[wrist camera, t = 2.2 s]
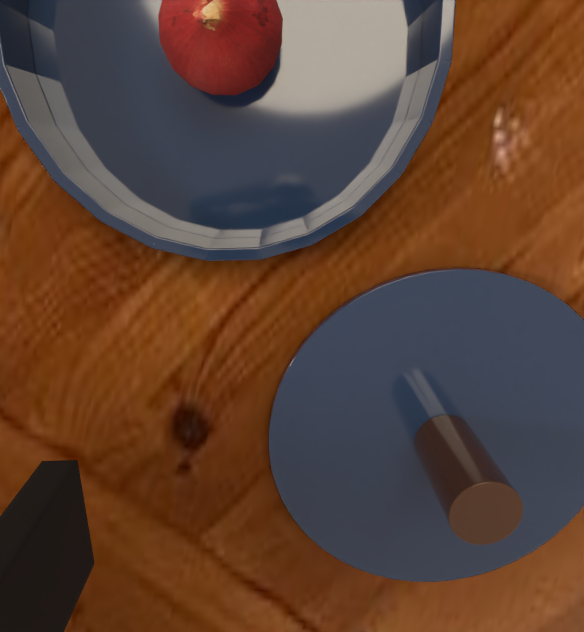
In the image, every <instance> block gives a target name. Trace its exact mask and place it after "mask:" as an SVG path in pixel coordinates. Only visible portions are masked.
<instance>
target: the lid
mask: <svg viewBox="0 0 584 632" xmlns="http://www.w3.org/2000/svg"><path fill="white" fill-rule="evenodd" d="M268 446H269V455H270V465H271V469H272V473H273V477H274V481H275V484H276V487H277V489H278V491H279V494H280V496H281V498H282V501H283V503H284V505H285V506H286V508H287V509H288V511H289V513H290V514H291V516H292V518H293V519H294V520H295V522H296V523H297V524H298V525H299V526H300V528H301V529H302V530H303V531H304V532H305V534H306V535H307V536H309V537H310V538H311V539H312V540H313V541H314V542H315V543H316V544H317V545H318V546H320V547H321V548H322V549H324V550H325V551H327V552H328V553H329V554H331V555H332V556H334V557H335V558H337V559H339V560H341V561H343V562H345V563H346V564H348V565H350V566H352V567H354V568H357V569H360V570H362V571H365V572H368V573H370V574H374V575H378V576H382V577H386V578H390V579H396V580H404V581H412V582H437V581H449V580H456V579H462V578H467V577H472V576H476V575H479V574H483V573H486V572H489V571H492V570H495V569H498V568H500V567H503V566H505V565H507V564H510V563H512V562H514V561H516V560H518V559H520V558H522V557H523V556H525V555H527V554H529V553H531V552H533V551H534V550H535V549H537V548H538V547H540V546H541V545H543V544H544V543H546V542H547V541H548V540H550V539H551V538H552V537H553V536H555V535H556V534H557V533H558V532H559V531H560V530H562V529H563V528H564V527H565V526H566V525H567V524H568V523H569V522H570V521H571V520H572V519H573V518H574V517H575V515H576V514H577V513H578V512H579V511H580V510H581V509H582V507H583V506H584V320H583V319H582V318H581V317H580V316H579V315H578V314H577V313H576V312H575V311H574V310H573V309H572V308H571V307H570V306H569V305H568V304H566V303H565V302H563V301H562V300H560V299H559V298H557V297H556V296H555V295H553V294H552V293H550V292H549V291H547V290H545V289H543V288H541V287H539V286H537V285H534V284H532V283H530V282H528V281H526V280H524V279H521V278H518V277H515V276H512V275H508V274H505V273H502V272H496V271H491V270H485V269H480V268H458V267H453V268H441V269H429V270H425V271H420V272H416V273H411V274H406V275H403V276H400V277H397V278H394V279H391V280H389V281H386V282H383V283H380V284H378V285H376V286H374V287H372V288H370V289H368V290H366V291H364V292H362V293H360V294H358V295H357V296H355V297H354V298H352V299H351V300H349V301H348V302H346V303H345V304H343V305H342V306H340V307H339V308H337V309H336V310H335V311H334V312H333V313H331V314H330V315H329V316H328V317H327V318H326V319H324V320H323V321H322V322H321V323H320V324H319V325H318V326H317V327H316V328H315V329H314V330H313V331H312V333H311V334H310V335H309V336H308V337H307V338H306V339H305V340H304V341H303V343H302V344H301V346H300V347H299V349H298V350H297V352H296V353H295V355H294V356H293V357H292V359H291V360H290V362H289V364H288V366H287V368H286V370H285V372H284V374H283V376H282V378H281V380H280V383H279V386H278V389H277V392H276V395H275V397H274V400H273V405H272V410H271V416H270V421H269V444H268Z"/></svg>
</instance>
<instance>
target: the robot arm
mask: <svg viewBox="0 0 584 632" xmlns="http://www.w3.org/2000/svg"><path fill="white" fill-rule="evenodd" d="M93 565H94V558H93V552H92V545H91V539H90V533H89V527H88V521H87V515H86V509H85V503H84V497H83V491H82V485H81V479H80V473H79V467H78V461H77V460H65V461H42V462H41V463H40V465H39V466H38V467H37V469H36V470H35V471H34V473H33V474H32V475H31V477H30V478H29V479H28V481H27V482H26V483H25V485H24V486H23V487H22V489H21V490H20V491H19V492H18V494H17V495H16V496H15V498H14V499H13V500H12V502H11V503H10V504H9V506H8V507H7V508H6V510H5V511H4V512H3V514H2V515H1V516H0V632H64V630H65V628H66V626H67V623H68V621H69V619H70V617H71V614H72V612H73V610H74V608H75V605H76V603H77V601H78V599H79V596H80V594H81V592H82V590H83V587H84V585H85V583H86V581H87V578H88V576H89V574H90V572H91V569H92V567H93Z"/></svg>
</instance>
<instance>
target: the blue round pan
mask: <svg viewBox="0 0 584 632" xmlns="http://www.w3.org/2000/svg"><path fill="white" fill-rule="evenodd" d="M161 2H162V0H0V89H1V91H2V93H3V96H4V98H5V101H6V103H7V105H8V108H9V110H10V113H11V115H12V117H13V120H14V122H15V125H16V127H17V128H18V131H19V132H20V134H21V135H22V137H23V138H24V139H25V141H26V142H27V144H28V145H29V146H30V148H31V149H32V151H33V152H34V153H35V155H36V156H37V158H38V159H39V160H40V162H41V163H42V165H43V166H44V167H45V169H46V170H47V171H48V173H49V174H50V176H51V177H52V178H53V180H54V181H55V182H56V183H57V184H58V185H59V186H60V187H62V188H63V189H64V190H65V191H66V192H67V193H68V194H70V195H71V196H72V197H73V198H74V199H75V200H76V201H78V202H79V203H80V204H81V205H82V206H83V207H84V208H86V209H87V210H88V211H89V212H90V213H91V214H92V215H94V216H95V217H96V218H97V219H98V220H99V221H101V222H103V223H105V224H106V225H108V226H110V227H112V228H114V229H116V230H118V231H120V232H122V233H124V234H126V235H128V236H129V237H131V238H133V239H135V240H137V241H139V242H141V243H143V244H145V245H147V246H149V247H151V248H152V247H153V248H154V249H158V250H162V251H166V252H170V253H174V254H179V255H183V256H187V257H191V258H195V259H200V260H204V261H206V260H207V261H234V260H260V259H266V258H269V257H273V256H276V255H280V254H283V253H287V252H290V251H294V250H297V249H301V248H304V247H307V246H311V245H313V244H315V243H317V242H319V241H320V240H322V239H324V238H325V237H327V236H329V235H330V234H332V233H334V232H336V231H337V230H339V229H341V228H342V227H344V226H346V225H347V224H349V223H351V222H352V221H354V220H356V219H357V218H359V217H360V216H362V215H363V214H364V213H365V212H366V211H367V210H368V209H369V208H370V207H371V206H372V205H373V204H374V203H375V202H376V201H377V200H378V199H379V198H380V197H381V196H382V195H383V194H384V193H385V192H386V191H387V190H388V189H389V188H390V187H391V186H392V185H393V184H394V182H395V181H396V180H397V179H398V178H399V177H400V176H401V175H402V174H403V172H404V170H405V169H406V167H407V165H408V164H409V162H410V160H411V159H412V157H413V155H414V154H415V152H416V150H417V149H418V147H419V145H420V143H421V142H422V140H423V138H424V137H425V135H426V133H427V132H428V130H429V128H430V127H431V125H432V122H433V121H434V117H435V114H436V111H437V108H438V104H439V101H440V98H441V95H442V91H443V88H444V85H445V82H446V79H447V75H448V72H449V69H450V66H451V60H452V51H453V36H454V21H455V6H456V0H277V3H278V6H279V9H280V12H281V15H282V18H283V26H282V45H281V48H280V51H279V54H278V57H277V59H276V62H275V65H274V67H273V69H272V70H271V71H270V72H269V73H268V75H267V76H266V77H265V78H264V79H263V80H262V82H261V83H260V84H259V85H258V86H256V87H254V88H251V89H249V90H247V91H245V92H242V93H240V94H238V95H212V94H209V93H207V92H204V91H202V90H200V89H197V88H195V87H192V86H190V85H189V84H188V83H187V82H186V81H185V80H184V79H183V78H182V77H181V76H180V75H178V74H177V73H176V72H175V71H174V70H173V69H172V67H171V65H170V62H169V60H168V58H167V56H166V54H165V52H164V50H163V48H162V46H161V44H160V37H159V22H158V15H159V11H160V6H161Z"/></svg>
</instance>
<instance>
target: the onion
mask: <svg viewBox="0 0 584 632" xmlns="http://www.w3.org/2000/svg"><path fill="white" fill-rule="evenodd" d="M158 22H159V37H160V44H161V46H162V48H163V50H164V52H165V54H166V56H167V58H168V60H169V62H170V65H171V67H172V69H173V70H174V71H175V72H176V73H177V74H178V75H180V76H181V77H182V78H183V79H184V80H185V81H186V82H187V83H188V84H189V85H190V86H192V87H195V88H197V89H200V90H202V91H204V92H207V93H209V94H212V95H238V94H240V93H242V92H245V91H247V90H249V89H251V88H254V87H256V86H258V85H259V84H260V83H261V82H262V80H263V79H264V78H265V77H266V76H267V75H268V73H269V72H270V71H271V70H272V69H273V67H274V65H275V62H276V59H277V57H278V54H279V51H280V48H281V45H282V26H283V18H282V15H281V12H280V9H279V6H278V3H277V0H162V2H161V6H160V11H159V15H158Z"/></svg>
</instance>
